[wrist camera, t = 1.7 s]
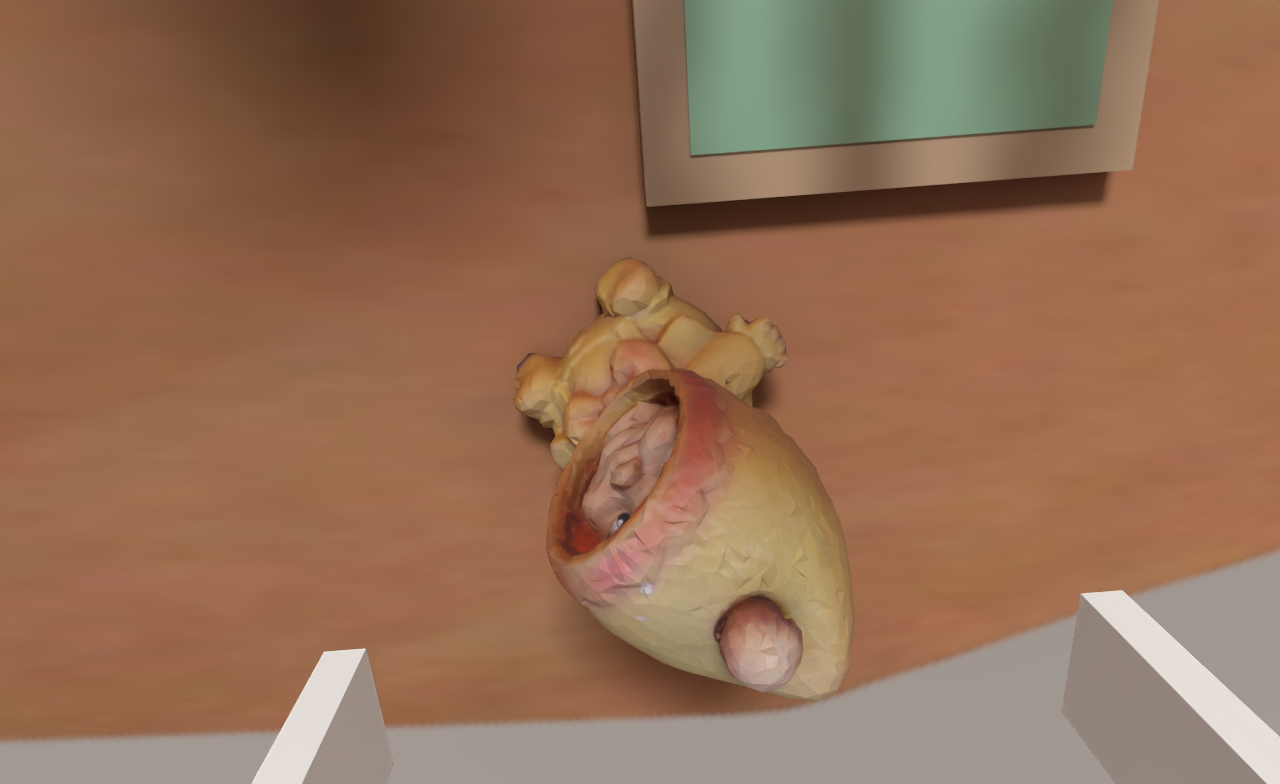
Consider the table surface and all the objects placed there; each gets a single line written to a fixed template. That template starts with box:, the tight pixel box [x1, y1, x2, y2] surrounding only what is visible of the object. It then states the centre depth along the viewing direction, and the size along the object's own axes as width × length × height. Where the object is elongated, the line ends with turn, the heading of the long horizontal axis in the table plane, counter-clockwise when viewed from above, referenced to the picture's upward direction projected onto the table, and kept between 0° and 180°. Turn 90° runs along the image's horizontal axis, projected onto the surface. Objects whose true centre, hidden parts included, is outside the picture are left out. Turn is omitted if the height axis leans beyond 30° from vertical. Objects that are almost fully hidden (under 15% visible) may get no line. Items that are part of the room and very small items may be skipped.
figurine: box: [513, 257, 854, 700], centre depth 22 cm, size 10×8×15 cm
